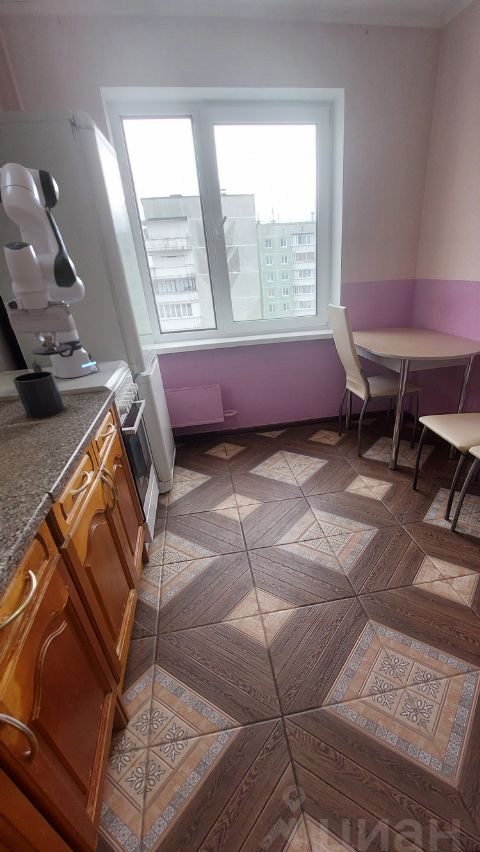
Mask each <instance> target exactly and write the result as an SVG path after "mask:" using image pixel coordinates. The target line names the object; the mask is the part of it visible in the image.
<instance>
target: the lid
mask: <svg viewBox="0 0 480 852" xmlns="http://www.w3.org/2000/svg"><path fill="white" fill-rule="evenodd" d="M43 338H44V340H45V342H46V345H47V347H42V346H40V347H36V348H33V349H32V350H31V354H32V355H36V356H51V355H55V354H60V353H63V352H66V351H68V350H70V349H71V346H70V345H64V344H60V345H59V346H57V347H53V346H52V343H51V341H53V339H52V336H48V335H44V336H43Z"/></svg>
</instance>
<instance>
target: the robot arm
mask: <svg viewBox="0 0 480 852" xmlns="http://www.w3.org/2000/svg"><path fill="white" fill-rule="evenodd" d="M59 194H60V192H59V186H58V184H57V181H56V180H55V179H54V177H53V175H52V173H51V172H50V171H47V170H43V169H40V168H39V169H36V168H30V167H25V166H23V165H21V164H19V163H16V162H8V163H6V164H4V165H3V166H2V167H0V204H2V206H3V209H4V212H5V214H6V216H7V217H8V218H9V219H10V220H11V221H12V222H13V223H14V224H16V225H17V226H18V227H19V231H20V235H21V241H15V242H14V241H13V242H9V243H6V244H5V245H4V246H3V252H4V257H5V261H6V265H7V269H8V273H9V275H10V277H11V279H12V282H11V291H12V294H13V295H14V297H15V298H13V299H11V300H9V301H7V302H5V304H4V305H5V308H6V310H7V311H8V312H7V313H8V314H7V315H8V316H7V317H8V319H9V323H10V326H11V329H12V330H13V332H15V333H16V334H33V335H34V337H35V339H37V340H38V341H39V343H40V345H41V347H47V345H46V342H45V340H44V336H43V334H47V336H52V339H53V341H51V343H52V346H53V347H57V346H59V345H60V344H64V345H70V346H71V349H70V350H68V351H66V352H63V353H60V354H55V355H50V361H51V364H52V368H53V372H52V373H53V375H54V378H56V377H57V378H61V379H71V378H79V377H84V376H87V375H90V374H93V373H96V372H98V370H99V369H98V368H97V366H96V364H97V362H96V361H92V359H93V358H92V356H91V353H88V352H87V351H86V350H85V349H84V348H83V343H82V340H81V338H80V337H79V334H78V331H77V326H76V325H77V324H76V322H75V320H74V317H73V315H72V313H71V308H70V306H69V305H70V304H73V303H77V302H81V301H82V300H83V299H84V297H85V292H86V290H85V289H86V288H85V286H84V283H83V282H82V280H81V279H80V277H79V276H77V270H76V267H75V264H74V263H73V260H72V259H71V258H70V256H69V253H68V251H67V247H66V246H65V242H64V240H63V238H62V235H61V232H60V229H59V227H58V225H57V223H56V221H55V219H54V218H55V217H53V215H52V213H51V212H52V210H53V209H54V208H56V206H57V204H58V203H59V196H60V195H59ZM47 208H48V210H47Z"/></svg>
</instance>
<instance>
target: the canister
mask: <svg viewBox="0 0 480 852" xmlns="http://www.w3.org/2000/svg"><path fill="white" fill-rule="evenodd" d="M55 378H56V377H54V375H53V372H52V371H47V370H45V371H44V370H42V371H40V372H34V371H33V372H32V371H31V372H27V373H23V374H19V375H17V376H15V377H14V378H13V379H12V381H13V384H14V386H15V389H16V391H17V395H18V396H19V399H20V402H21V404H22V406H23V409H24V413H25V414H26V416H27V417H28V418H29V419H45V418H46V419H47V418H49V417H54V416H56V415H59V414H61V413H62V412H64V411H65V409H66V408H65V405H64V402H63V399H62V397H61V394H60V393H61V392H60V390H59V388H58V387H59V386H58V384H57V381H56V379H55Z"/></svg>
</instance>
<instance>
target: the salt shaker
mask: <svg viewBox="0 0 480 852" xmlns="http://www.w3.org/2000/svg"><path fill="white" fill-rule="evenodd" d="M31 367H32V370H33V372H40V371H43V368H42V365H41V363H40V362H38V361H36V360H35V359H33V362H32V363H31Z"/></svg>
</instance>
